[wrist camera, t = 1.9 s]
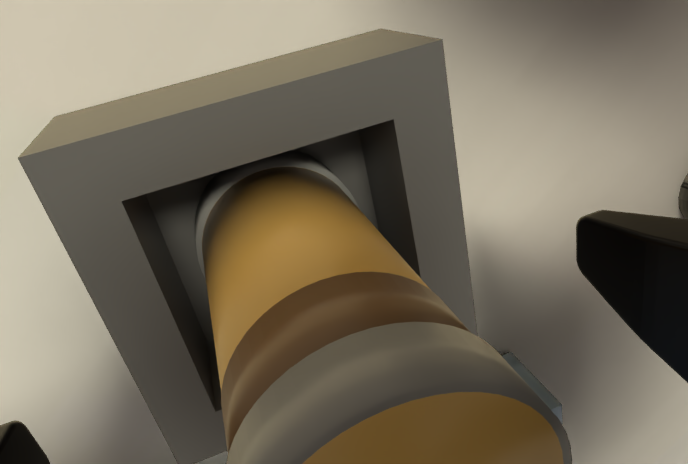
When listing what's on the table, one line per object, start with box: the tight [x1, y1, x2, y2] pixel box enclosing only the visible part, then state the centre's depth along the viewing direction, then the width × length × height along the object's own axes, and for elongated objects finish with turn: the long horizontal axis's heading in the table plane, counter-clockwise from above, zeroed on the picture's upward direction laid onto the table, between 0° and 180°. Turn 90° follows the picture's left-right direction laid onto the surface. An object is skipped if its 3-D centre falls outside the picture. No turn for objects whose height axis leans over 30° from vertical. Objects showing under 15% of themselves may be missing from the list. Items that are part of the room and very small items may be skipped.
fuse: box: [194, 150, 572, 464], centre depth 9 cm, size 4×4×8 cm
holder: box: [18, 29, 477, 464], centre depth 11 cm, size 7×7×3 cm
